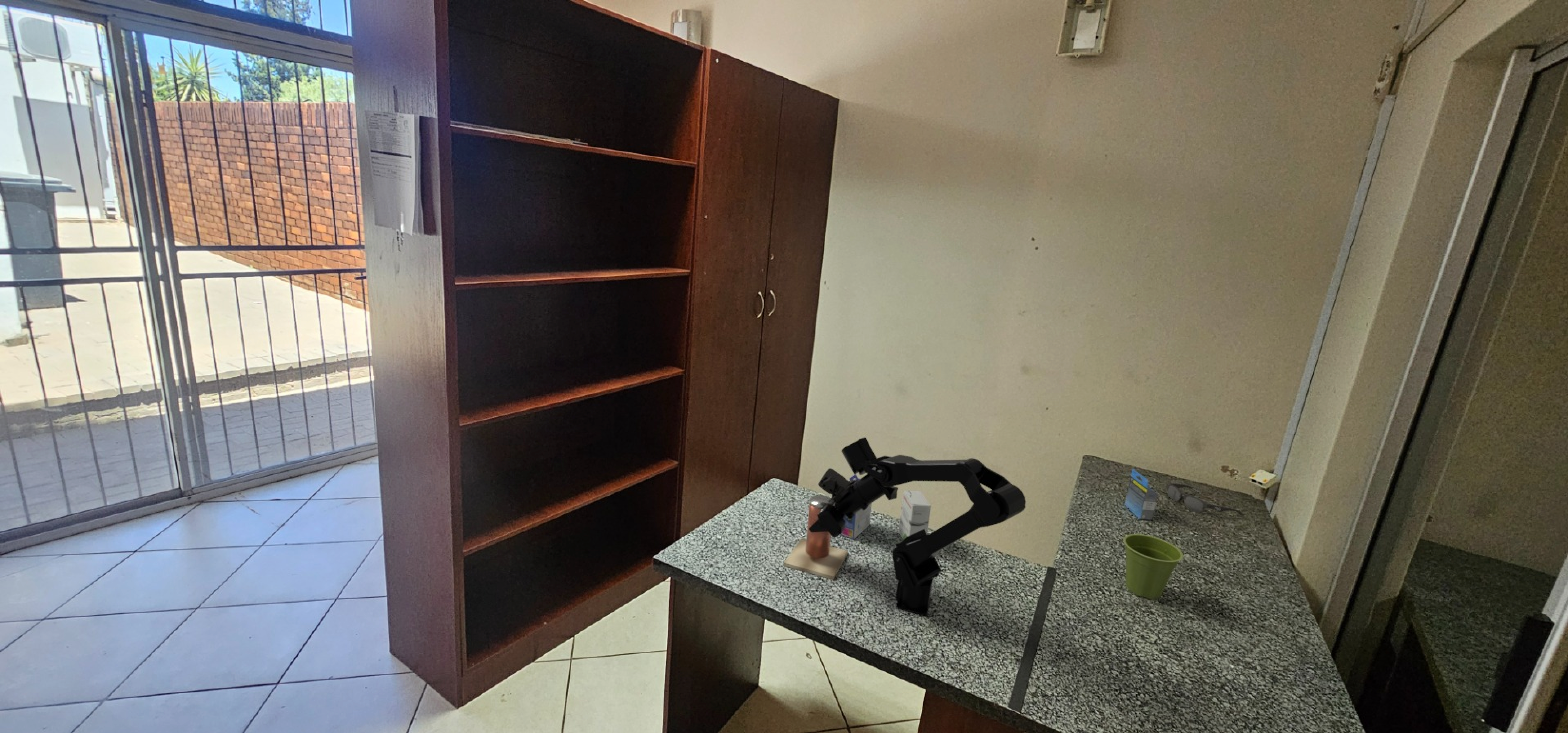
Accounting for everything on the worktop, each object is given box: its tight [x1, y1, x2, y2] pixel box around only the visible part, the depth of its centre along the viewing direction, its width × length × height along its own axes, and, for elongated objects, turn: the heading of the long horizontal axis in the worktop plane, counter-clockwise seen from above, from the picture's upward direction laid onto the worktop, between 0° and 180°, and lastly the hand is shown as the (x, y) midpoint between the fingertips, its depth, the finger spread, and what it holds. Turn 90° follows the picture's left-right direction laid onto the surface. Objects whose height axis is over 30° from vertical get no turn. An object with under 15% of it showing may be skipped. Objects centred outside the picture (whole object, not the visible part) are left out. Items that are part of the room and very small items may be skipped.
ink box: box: [897, 490, 932, 540], centre depth 155 cm, size 9×5×12 cm, turn 6°
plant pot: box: [1122, 533, 1184, 600], centre depth 140 cm, size 12×12×11 cm
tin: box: [805, 494, 834, 558], centre depth 141 cm, size 6×6×13 cm
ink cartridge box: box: [840, 474, 873, 540], centre depth 157 cm, size 10×6×14 cm, turn 148°
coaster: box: [783, 538, 849, 580], centre depth 144 cm, size 12×12×1 cm
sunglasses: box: [1166, 482, 1243, 515], centre depth 190 cm, size 16×17×5 cm
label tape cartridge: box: [1124, 467, 1159, 521], centre depth 179 cm, size 9×4×12 cm, turn 179°
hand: (814, 524), depth 142 cm, fingers closed on tin, 6 cm apart
